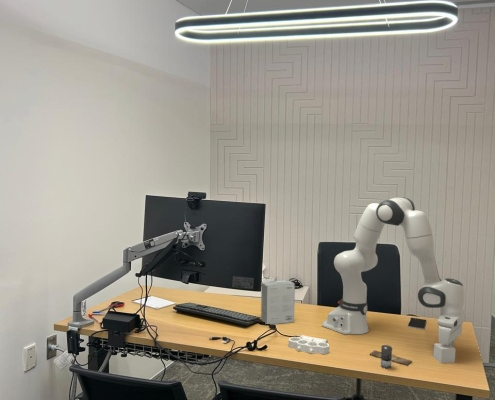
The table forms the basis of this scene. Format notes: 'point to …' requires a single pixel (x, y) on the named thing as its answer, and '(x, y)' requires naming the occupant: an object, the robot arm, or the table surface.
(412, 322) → the smartphone
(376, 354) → the strip
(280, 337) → the table surface
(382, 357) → the bottle with black cap
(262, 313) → the hard drive box
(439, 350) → the white cube
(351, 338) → the table surface
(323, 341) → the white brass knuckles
